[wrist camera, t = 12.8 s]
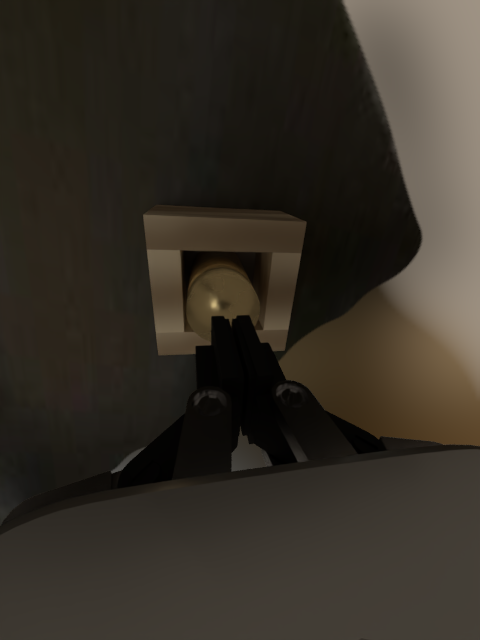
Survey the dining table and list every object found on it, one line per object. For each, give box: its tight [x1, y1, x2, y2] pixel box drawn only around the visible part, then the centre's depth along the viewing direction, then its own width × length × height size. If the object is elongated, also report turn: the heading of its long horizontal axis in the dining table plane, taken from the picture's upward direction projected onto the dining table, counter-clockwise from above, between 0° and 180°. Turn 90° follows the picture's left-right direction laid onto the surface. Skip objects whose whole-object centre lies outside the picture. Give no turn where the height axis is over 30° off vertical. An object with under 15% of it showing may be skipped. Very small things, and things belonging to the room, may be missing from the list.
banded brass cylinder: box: [186, 251, 260, 342], centre depth 19 cm, size 4×4×8 cm
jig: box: [143, 205, 307, 355], centre depth 21 cm, size 10×10×6 cm
